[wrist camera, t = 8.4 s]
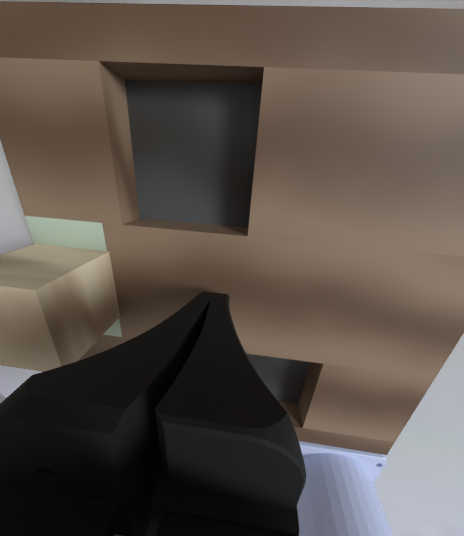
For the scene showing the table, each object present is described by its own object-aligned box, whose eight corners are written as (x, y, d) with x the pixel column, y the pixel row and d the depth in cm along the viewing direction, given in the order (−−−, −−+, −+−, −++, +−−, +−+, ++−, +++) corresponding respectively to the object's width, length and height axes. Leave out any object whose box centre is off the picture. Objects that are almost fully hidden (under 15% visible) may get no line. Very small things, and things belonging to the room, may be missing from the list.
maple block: (120, 316, 13) (64, 374, 9) (56, 308, 13) (-24, 361, 9) (109, 251, 11) (34, 289, 7) (35, 243, 11) (-71, 277, 8)
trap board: (372, 424, 17) (386, 454, 15) (102, 384, 18) (85, 407, 17) (570, 49, 8) (665, 12, 6) (14, 34, 9) (-44, 0, 8)
